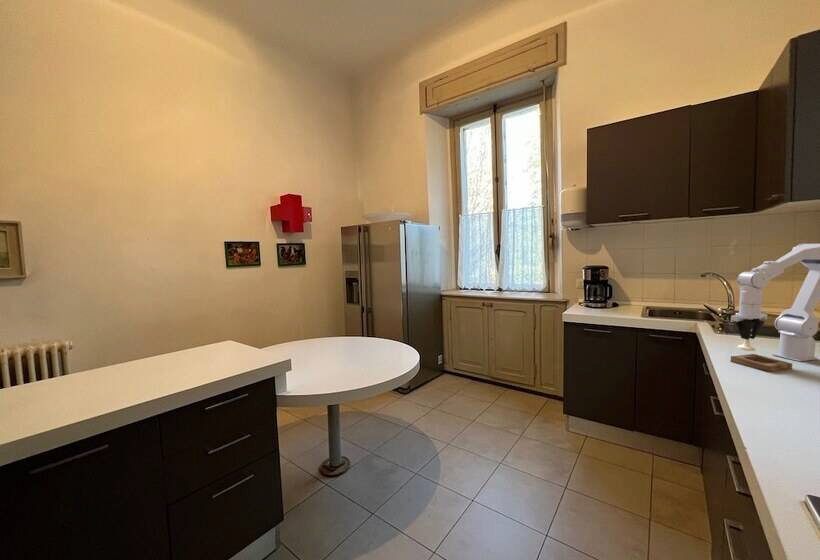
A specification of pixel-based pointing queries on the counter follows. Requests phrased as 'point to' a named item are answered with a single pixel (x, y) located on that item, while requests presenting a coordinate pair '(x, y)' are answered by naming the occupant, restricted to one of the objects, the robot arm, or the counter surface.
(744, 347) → the chess piece
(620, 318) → the counter surface
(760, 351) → the counter surface
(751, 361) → the socket board
